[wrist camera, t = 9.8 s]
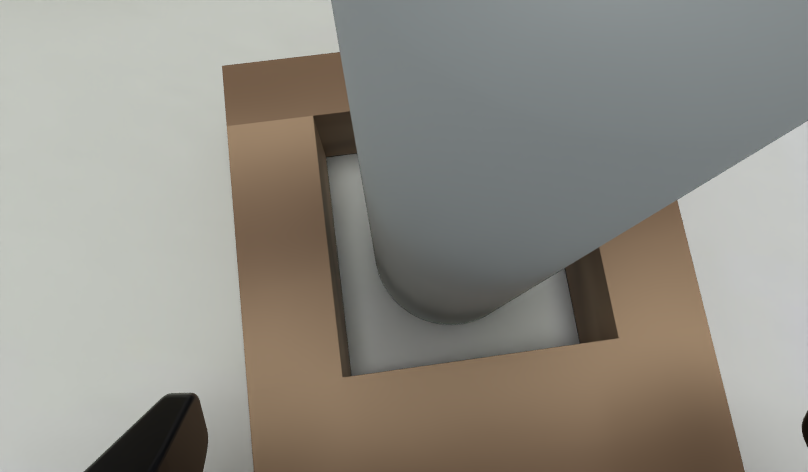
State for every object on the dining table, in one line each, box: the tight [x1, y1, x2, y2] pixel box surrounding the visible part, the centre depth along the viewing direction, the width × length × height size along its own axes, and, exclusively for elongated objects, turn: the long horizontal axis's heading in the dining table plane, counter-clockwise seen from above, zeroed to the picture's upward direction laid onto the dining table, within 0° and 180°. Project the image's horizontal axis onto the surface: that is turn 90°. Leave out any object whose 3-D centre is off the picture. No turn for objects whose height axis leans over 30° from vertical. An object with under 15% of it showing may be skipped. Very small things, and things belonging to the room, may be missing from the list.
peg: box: [331, 0, 808, 325], centre depth 11 cm, size 4×4×14 cm
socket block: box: [222, 52, 745, 472], centre depth 15 cm, size 16×11×3 cm
